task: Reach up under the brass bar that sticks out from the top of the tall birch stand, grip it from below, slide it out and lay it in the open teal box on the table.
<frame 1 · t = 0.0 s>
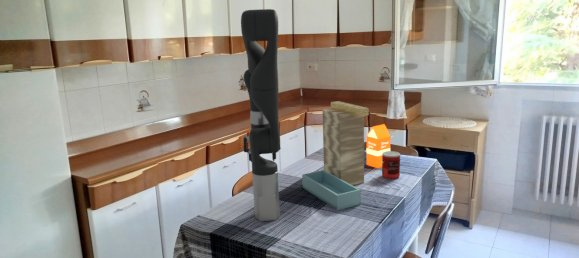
hand: (262, 160, 163), 17 cm above the table, tool pointing down, fingers open, 8 cm apart
canned food: (390, 177, 188), on the table
open teal box: (329, 195, 170), on the table
orange juice: (378, 164, 206), on the table
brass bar: (348, 112, 175), point 32 cm above the table, touching birch stand
birch stand: (343, 180, 186), on the table
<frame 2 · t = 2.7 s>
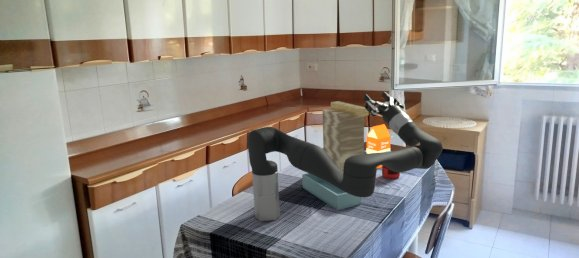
hand: (374, 94, 157), 41 cm above the table, tool pointing upward, fingers open, 8 cm apart
nothing on the table moved.
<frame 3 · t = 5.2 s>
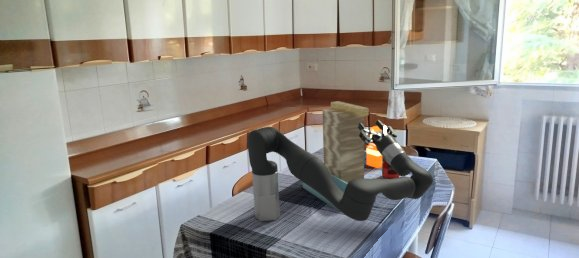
hand: (368, 123, 163), 30 cm above the table, tool pointing upward, fingers open, 8 cm apart
nothing on the table moved.
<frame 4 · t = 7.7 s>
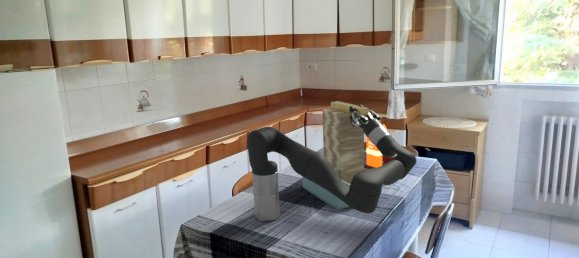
hand: (355, 106, 170), 35 cm above the table, tool pointing upward, fingers closed on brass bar, 4 cm apart
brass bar: (348, 112, 175), point 32 cm above the table, touching birch stand, gripper
everything else where it was.
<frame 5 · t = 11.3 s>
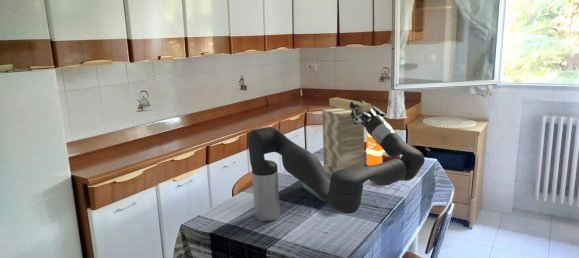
hand: (356, 102, 157), 39 cm above the table, tool pointing upward, fingers closed on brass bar, 4 cm apart
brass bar: (349, 108, 162), point 36 cm above the table, touching gripper
everything else where it was.
when the fingers open (13 cm above the table, at t = 15.3 s): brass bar drops 5 cm, resting on open teal box.
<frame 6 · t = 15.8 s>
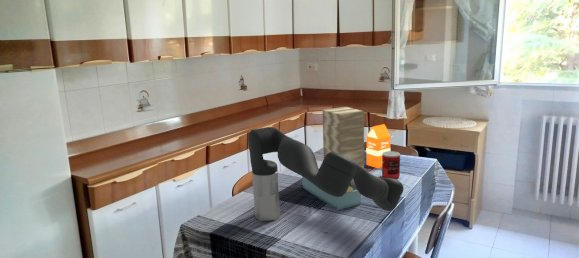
hand: (334, 167, 163), 13 cm above the table, tool horizontal, fingers open, 8 cm apart
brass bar: (333, 189, 167), point 4 cm above the table, tilted 13°, touching open teal box
everything else where it was.
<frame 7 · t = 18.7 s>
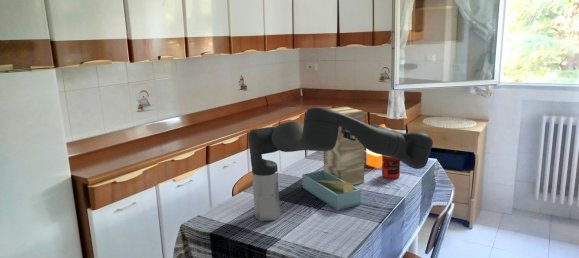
hand: (352, 128, 148), 31 cm above the table, tool horizontal, fingers open, 8 cm apart
nothing on the table moved.
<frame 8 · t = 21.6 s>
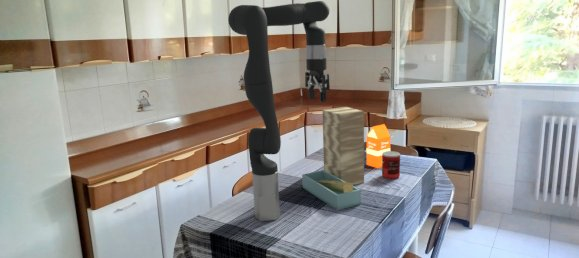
hand: (317, 100, 158), 40 cm above the table, tool pointing down, fingers open, 8 cm apart
nothing on the table moved.
at the end: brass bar inside the target area on the open teal box (2.6 cm from its centre), point 3.5 cm above the open teal box's base; the gripper is holding nothing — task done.
